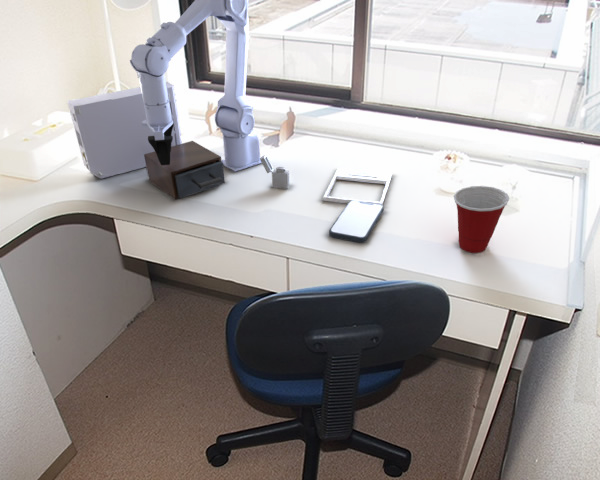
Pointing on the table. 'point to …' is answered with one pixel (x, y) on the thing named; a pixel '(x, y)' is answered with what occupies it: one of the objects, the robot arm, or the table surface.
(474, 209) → the plastic cup
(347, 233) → the smartphone
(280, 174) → the lighter
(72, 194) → the table surface
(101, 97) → the game console
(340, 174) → the photo frame
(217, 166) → the drawer
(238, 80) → the robot arm
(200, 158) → the cabinet
